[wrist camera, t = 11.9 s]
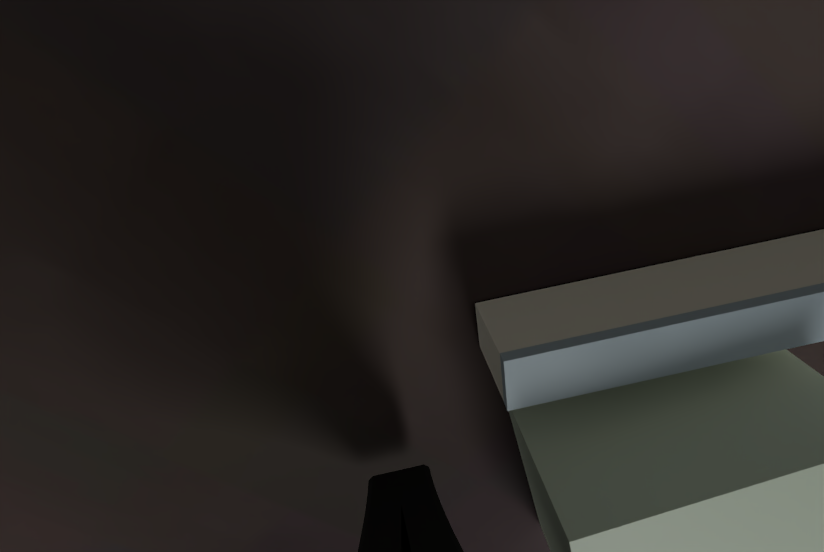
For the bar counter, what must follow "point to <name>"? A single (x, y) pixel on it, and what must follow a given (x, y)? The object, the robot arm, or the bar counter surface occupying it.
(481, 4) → the bar counter surface
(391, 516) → the robot arm
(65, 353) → the bar counter surface
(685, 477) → the sage block
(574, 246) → the bar counter surface
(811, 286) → the bar
